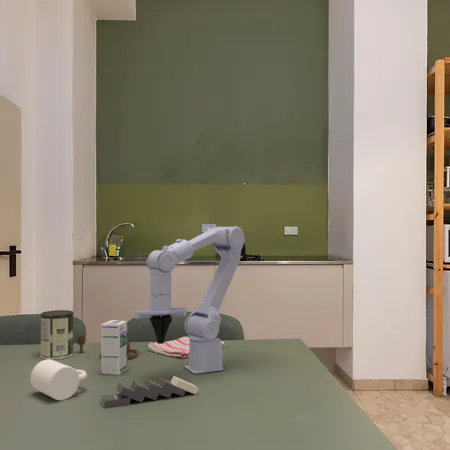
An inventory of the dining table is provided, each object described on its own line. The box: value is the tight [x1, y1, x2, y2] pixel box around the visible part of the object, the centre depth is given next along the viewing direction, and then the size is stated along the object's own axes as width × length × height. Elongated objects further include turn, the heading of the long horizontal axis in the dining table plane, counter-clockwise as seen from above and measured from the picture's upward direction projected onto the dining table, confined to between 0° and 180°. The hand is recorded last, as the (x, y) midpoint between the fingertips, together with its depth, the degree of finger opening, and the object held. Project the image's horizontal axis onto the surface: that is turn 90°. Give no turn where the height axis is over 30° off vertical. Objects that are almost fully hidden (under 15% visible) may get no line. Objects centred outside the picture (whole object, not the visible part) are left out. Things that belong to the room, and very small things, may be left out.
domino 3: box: [129, 380, 160, 401], centre depth 118 cm, size 2×4×6 cm
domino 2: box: [115, 382, 146, 403], centre depth 117 cm, size 2×4×6 cm
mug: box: [30, 359, 88, 401], centre depth 123 cm, size 12×10×8 cm
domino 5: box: [157, 377, 187, 397], centre depth 121 cm, size 2×4×6 cm
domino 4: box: [143, 378, 173, 399], centre depth 120 cm, size 2×4×6 cm
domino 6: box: [170, 375, 200, 395], centre depth 123 cm, size 2×4×6 cm
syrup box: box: [100, 319, 129, 376], centre depth 141 cm, size 6×6×14 cm
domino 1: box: [100, 393, 131, 409], centre depth 115 cm, size 2×4×6 cm
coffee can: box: [40, 309, 74, 361], centre depth 159 cm, size 10×10×14 cm
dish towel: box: [148, 336, 227, 360], centre depth 169 cm, size 17×23×4 cm
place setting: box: [77, 335, 143, 361], centre depth 162 cm, size 18×20×6 cm
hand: (160, 343), depth 135 cm, fingers closed
